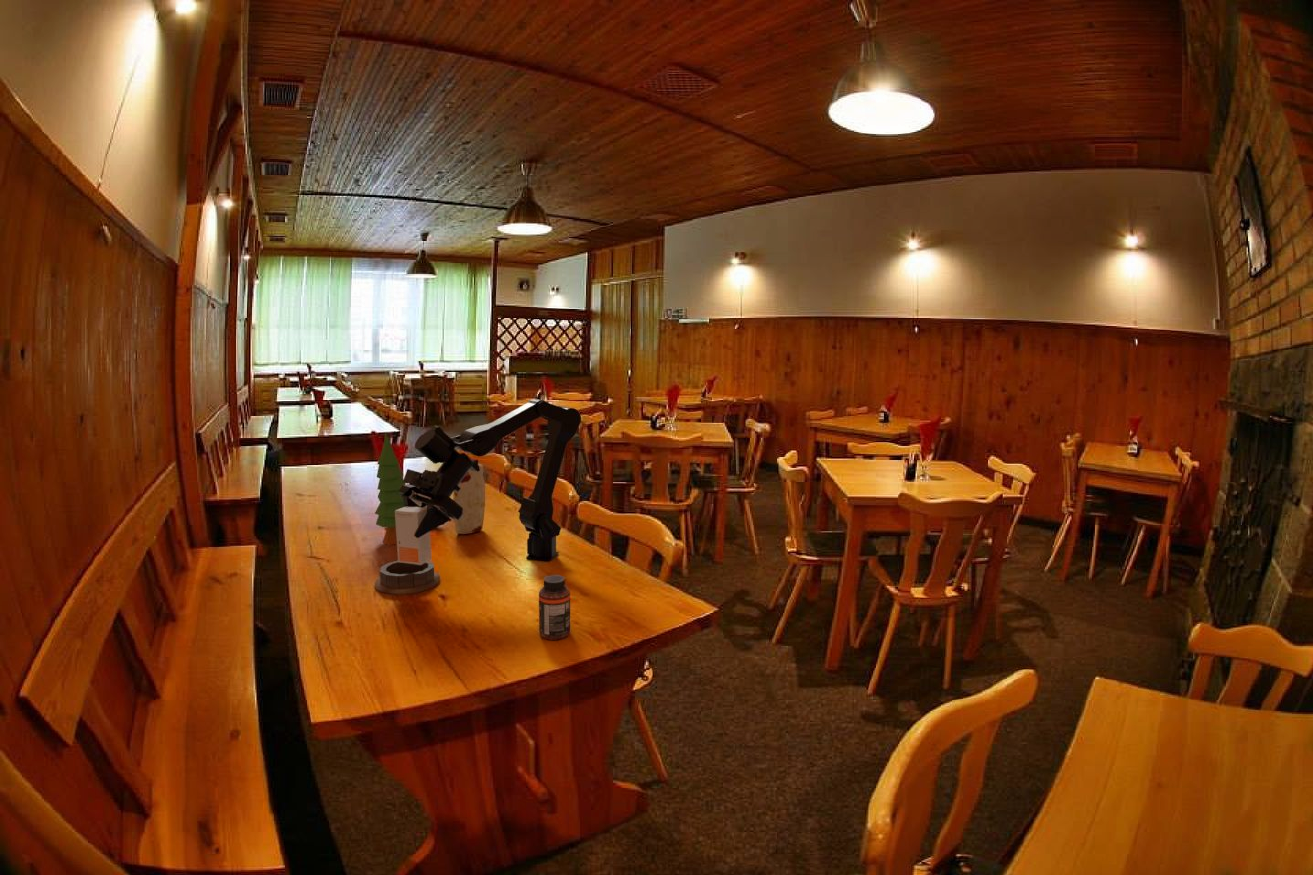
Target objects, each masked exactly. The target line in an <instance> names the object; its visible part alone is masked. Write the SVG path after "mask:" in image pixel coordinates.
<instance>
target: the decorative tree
mask: <svg viewBox="0 0 1313 875" xmlns="http://www.w3.org/2000/svg"><path fill="white" fill-rule="evenodd" d="M376 465H378V469H377V474H376V478H378V479H379V480H378V484H377V490H379V492H378V494H377V498H378V501H379V502H380V503H379V504H378V507H377V508H376V510H375V512H374V515H378V517H377V518H376V523H375V525H376V526H379V527H381V528H387V529H386V532H385V534H384V537H383V539H382V543H383V544H385V545H386V546H388V545H397V538H396V522H395V510H398V509H400V508H403V507H404V501H403V498H402V495H401V494H400V493H399V492H398V491H399V489H400V488H401V487H402V486H403V485H406V484H407V483H403V480H404V478H403V476H404V473H403V471H402V469H401V467H400V462H399V460H398V457H397V455H396V454H395V451H394V449H393V446H392V444H391V441H390V439H389V436H388V435H387V433H386V432H385V433H384V442H383V445H382V449H381V454H380V456H379V458H378V461H377V464H376Z"/></svg>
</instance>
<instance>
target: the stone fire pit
mask: <svg viewBox="0 0 1313 875" xmlns="http://www.w3.org/2000/svg"><path fill="white" fill-rule="evenodd" d="M440 583H441V575H440V574H439V573H437V572H436V571H435V563H434V562H432V561H431V560H429V561H427V562H426V563H424V564H422V565H417V564H409V563H399V562H398V560H395V561H390V562H388V563H386V564H384V565H382V566H380V570H379V577H378V578H377V579H376V580H375V582H374V588H375V590H376V591H377V592H380V593H381V594H387V595H392V596H397V595H399V596H401V595H413V594H419V593H422V592H426V591H428V590H431V589H433V588H435V587H437V586H438V585H439V584H440Z"/></svg>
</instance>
